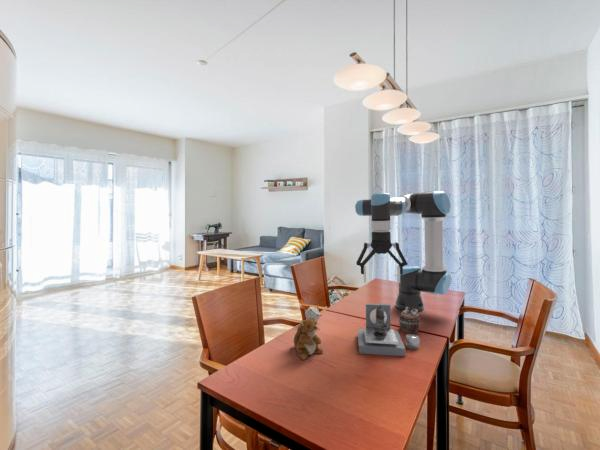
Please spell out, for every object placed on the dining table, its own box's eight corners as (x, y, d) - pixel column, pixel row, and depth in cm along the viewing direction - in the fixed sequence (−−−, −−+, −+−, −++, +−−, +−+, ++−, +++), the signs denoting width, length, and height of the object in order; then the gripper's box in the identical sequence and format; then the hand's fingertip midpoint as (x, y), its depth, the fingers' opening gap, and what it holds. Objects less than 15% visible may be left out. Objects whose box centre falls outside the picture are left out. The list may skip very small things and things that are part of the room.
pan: (393, 334, 122) (393, 329, 122) (398, 347, 110) (398, 341, 110) (363, 332, 124) (363, 327, 124) (365, 345, 112) (365, 340, 112)
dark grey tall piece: (370, 331, 120) (370, 303, 119) (384, 331, 120) (384, 302, 120) (375, 337, 114) (375, 307, 113) (390, 337, 114) (390, 307, 114)
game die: (315, 328, 145) (327, 312, 146) (311, 329, 138) (323, 311, 139) (302, 317, 149) (313, 301, 150) (297, 317, 142) (309, 300, 143)
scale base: (397, 338, 125) (398, 303, 125) (405, 356, 109) (405, 317, 109) (357, 335, 128) (357, 302, 127) (359, 353, 112) (359, 315, 111)
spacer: (417, 343, 120) (417, 334, 119) (420, 349, 115) (420, 339, 115) (404, 343, 120) (404, 333, 120) (407, 348, 116) (407, 338, 115)
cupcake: (399, 324, 141) (399, 303, 140) (421, 327, 137) (421, 306, 136) (397, 331, 132) (397, 309, 132) (420, 335, 128) (420, 312, 128)
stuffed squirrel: (303, 361, 106) (303, 326, 106) (286, 346, 119) (286, 314, 118) (326, 355, 111) (325, 321, 111) (307, 341, 124) (307, 310, 123)
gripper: (410, 229, 121) (410, 280, 122) (349, 230, 125) (350, 279, 126) (415, 231, 114) (415, 284, 115) (350, 232, 117) (351, 284, 119)
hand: (381, 282), depth 121 cm, fingers open, 13 cm apart
